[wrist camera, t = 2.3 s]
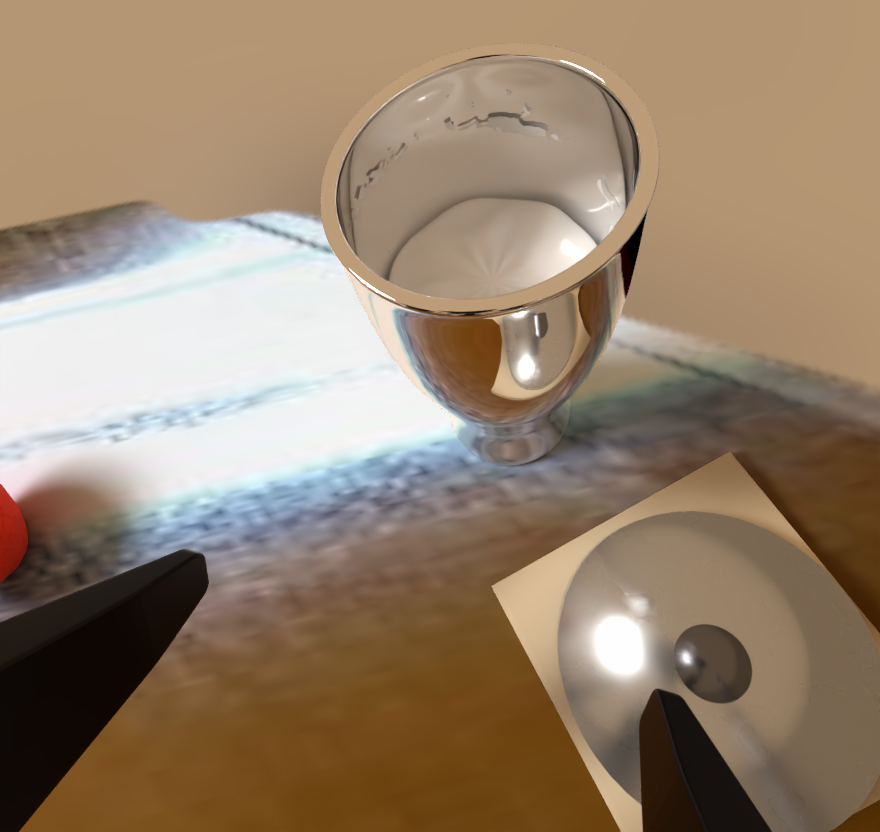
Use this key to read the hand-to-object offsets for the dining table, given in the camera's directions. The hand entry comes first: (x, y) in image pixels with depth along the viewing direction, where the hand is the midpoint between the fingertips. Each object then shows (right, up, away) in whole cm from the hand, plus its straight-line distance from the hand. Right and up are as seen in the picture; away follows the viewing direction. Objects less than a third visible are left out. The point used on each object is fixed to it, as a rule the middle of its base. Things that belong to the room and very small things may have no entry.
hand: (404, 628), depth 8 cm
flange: (+11, -6, +10) cm, 16 cm away
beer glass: (+4, +4, +14) cm, 16 cm away
